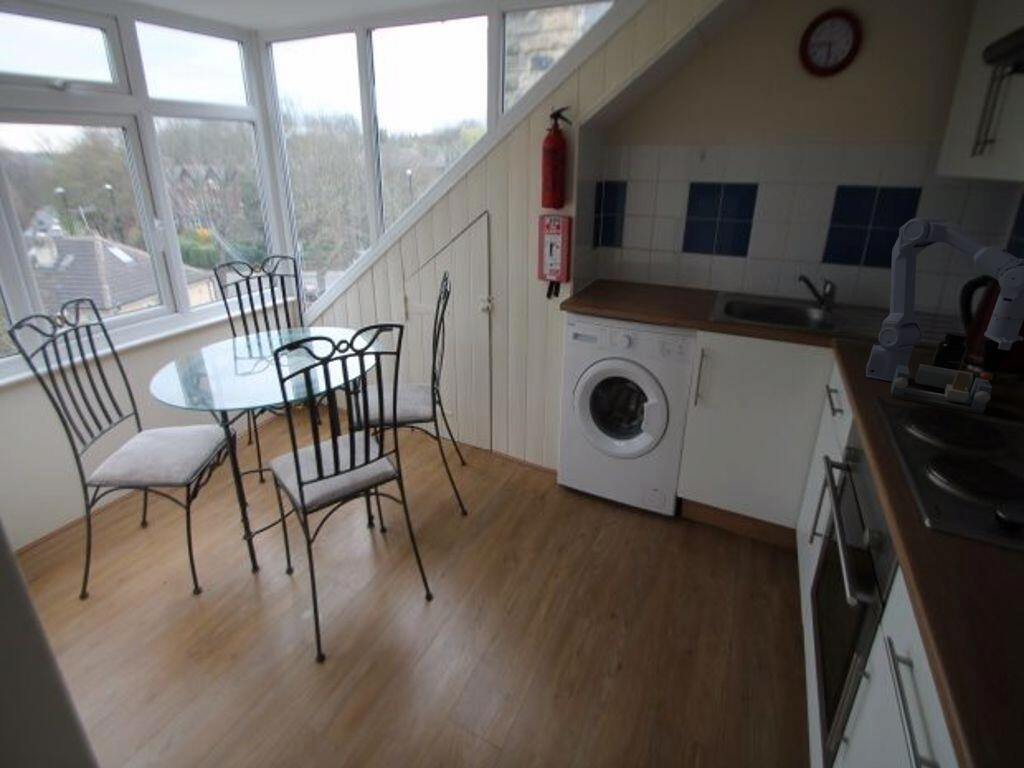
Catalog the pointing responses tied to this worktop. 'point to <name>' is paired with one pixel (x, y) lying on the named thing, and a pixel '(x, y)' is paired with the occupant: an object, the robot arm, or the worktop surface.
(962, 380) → the carriage
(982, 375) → the plunger
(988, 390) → the rail stand
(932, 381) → the skincare box
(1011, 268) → the robot arm
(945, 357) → the supplement bottle
